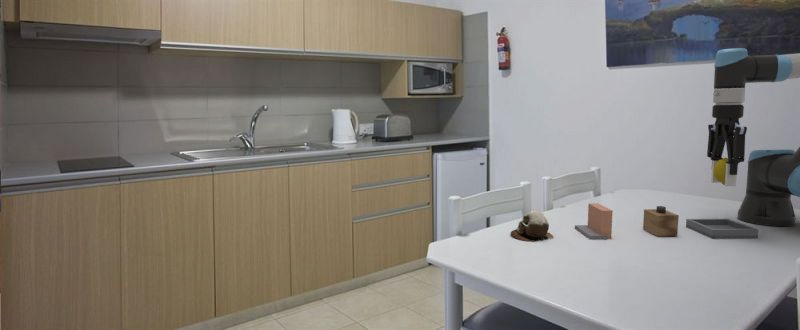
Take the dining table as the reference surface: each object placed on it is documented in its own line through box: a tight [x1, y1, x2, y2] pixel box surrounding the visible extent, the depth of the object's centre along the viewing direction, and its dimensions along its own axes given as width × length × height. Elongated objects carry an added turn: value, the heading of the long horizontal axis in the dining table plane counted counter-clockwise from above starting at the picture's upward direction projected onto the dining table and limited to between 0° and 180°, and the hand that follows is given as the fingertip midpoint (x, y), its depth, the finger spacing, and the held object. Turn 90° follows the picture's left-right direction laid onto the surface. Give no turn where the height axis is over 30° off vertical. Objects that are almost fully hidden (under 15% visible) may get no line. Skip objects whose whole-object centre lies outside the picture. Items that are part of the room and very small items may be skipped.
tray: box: [685, 218, 759, 240], centre depth 149 cm, size 13×13×2 cm
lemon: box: [714, 157, 728, 186], centre depth 147 cm, size 6×6×8 cm
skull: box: [510, 210, 554, 243], centre depth 147 cm, size 12×10×10 cm
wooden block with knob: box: [642, 205, 680, 237], centre depth 149 cm, size 6×8×8 cm
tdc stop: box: [574, 202, 613, 240], centre depth 149 cm, size 6×12×8 cm, turn 1°
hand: (723, 183), depth 148 cm, fingers closed on lemon, 5 cm apart
